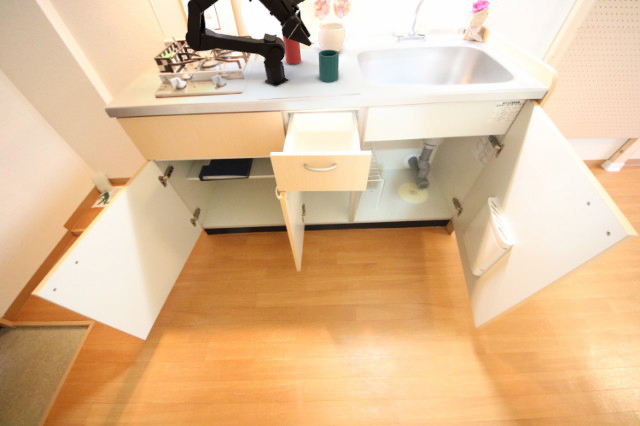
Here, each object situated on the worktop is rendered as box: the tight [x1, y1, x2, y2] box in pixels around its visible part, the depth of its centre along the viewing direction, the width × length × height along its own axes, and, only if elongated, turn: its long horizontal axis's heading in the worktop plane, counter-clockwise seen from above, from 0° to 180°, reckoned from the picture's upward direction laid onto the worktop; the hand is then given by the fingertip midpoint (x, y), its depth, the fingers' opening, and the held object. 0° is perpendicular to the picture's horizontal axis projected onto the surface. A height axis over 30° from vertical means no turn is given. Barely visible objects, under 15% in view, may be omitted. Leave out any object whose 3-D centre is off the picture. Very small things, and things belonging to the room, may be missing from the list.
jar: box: [318, 50, 340, 83], centre depth 89 cm, size 7×7×8 cm
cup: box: [316, 22, 346, 52], centre depth 106 cm, size 12×12×10 cm
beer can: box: [282, 35, 302, 65], centre depth 99 cm, size 7×7×12 cm
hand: (310, 40), depth 82 cm, fingers open, 9 cm apart
